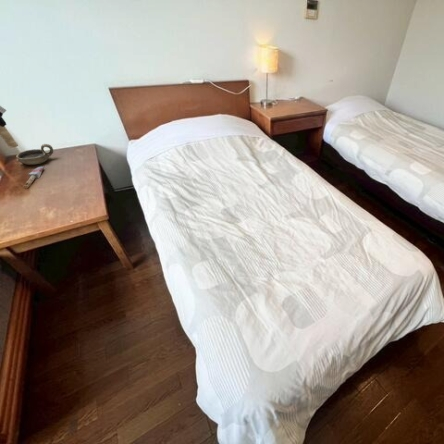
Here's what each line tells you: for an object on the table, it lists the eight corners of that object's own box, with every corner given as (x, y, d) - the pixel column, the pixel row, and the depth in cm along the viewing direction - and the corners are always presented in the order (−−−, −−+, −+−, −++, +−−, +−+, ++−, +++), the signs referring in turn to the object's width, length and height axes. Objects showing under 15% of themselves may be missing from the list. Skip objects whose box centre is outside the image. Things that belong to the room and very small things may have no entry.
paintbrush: (43, 164, 143) (28, 185, 130) (46, 168, 145) (31, 189, 132) (35, 164, 142) (19, 185, 129) (38, 168, 144) (22, 189, 131)
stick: (7, 147, 125) (-18, 115, 114) (11, 144, 127) (-13, 112, 117) (16, 147, 126) (-8, 115, 115) (19, 144, 128) (-3, 112, 117)
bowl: (22, 160, 149) (10, 144, 143) (58, 153, 158) (49, 139, 151) (21, 170, 142) (9, 155, 135) (59, 163, 150) (49, 148, 143)
